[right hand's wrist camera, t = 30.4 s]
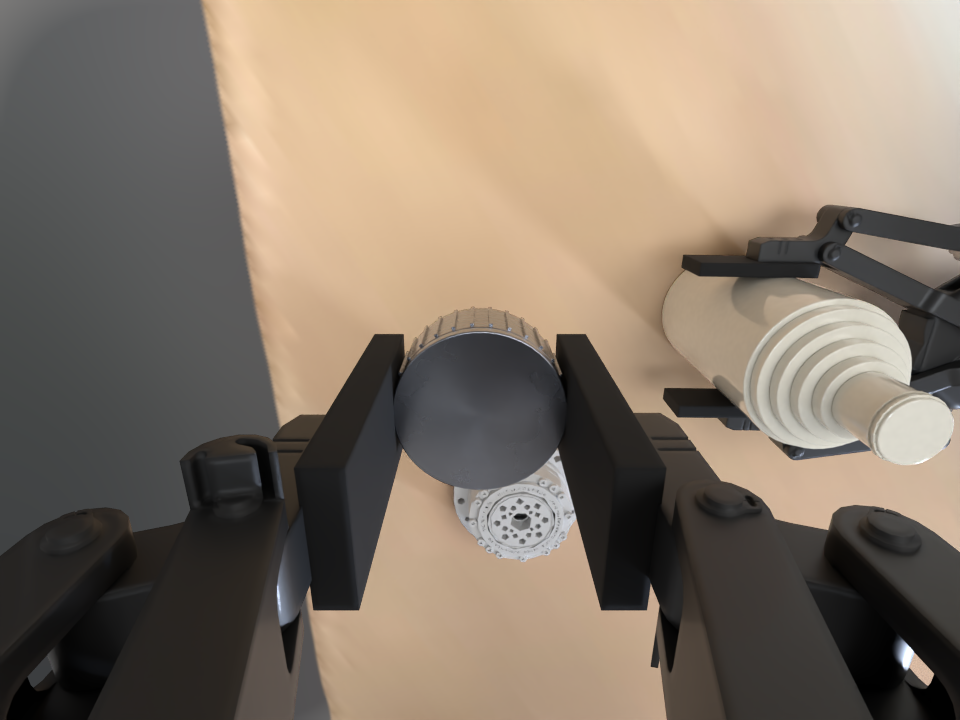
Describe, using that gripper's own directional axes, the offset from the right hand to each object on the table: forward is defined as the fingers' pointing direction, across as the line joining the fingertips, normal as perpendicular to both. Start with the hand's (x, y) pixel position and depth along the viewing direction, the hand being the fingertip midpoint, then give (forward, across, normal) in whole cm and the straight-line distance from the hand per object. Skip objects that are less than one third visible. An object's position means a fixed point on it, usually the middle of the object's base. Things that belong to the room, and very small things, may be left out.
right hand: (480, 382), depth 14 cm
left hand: (+17, +12, -4) cm, 21 cm away
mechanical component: (+23, +3, -19) cm, 30 cm away
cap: (-2, 0, 0) cm, 2 cm away
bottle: (+23, +17, -4) cm, 29 cm away
